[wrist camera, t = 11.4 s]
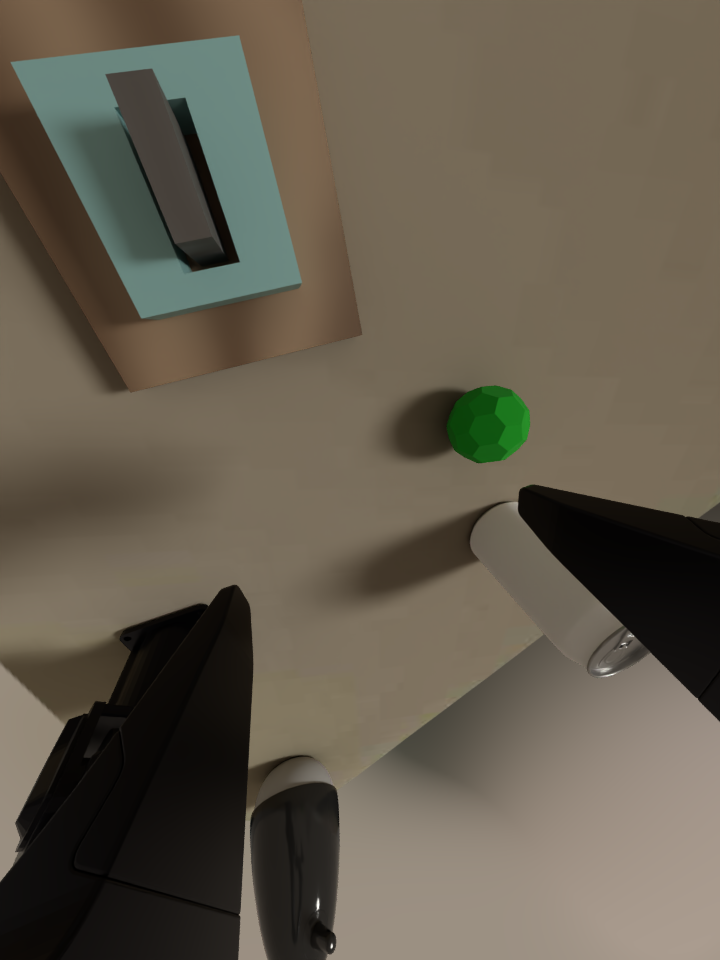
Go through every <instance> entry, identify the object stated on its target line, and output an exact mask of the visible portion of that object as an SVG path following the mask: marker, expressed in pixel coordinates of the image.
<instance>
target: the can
mask: <svg viewBox="0 0 720 960" xmlns="http://www.w3.org/2000/svg"><path fill="white" fill-rule="evenodd" d="M470 547H471V549H472V551H473V553H474V554H475V555H476V556H477V558H478V559H479V560H480V561H481V562H482V563H483V565H484V566H485V567H486V568H487V569H488V570H489V572H490V573H491V574H492V575H493V576H494V577H495V578H496V580H497V581H498V582H499V583H500V584H501V585H502V586H503V588H504V589H505V590H506V591H507V592H508V593H509V594H510V595H511V597H512V598H513V599H514V600H515V601H516V602H517V603H518V605H519V606H520V607H521V608H522V609H523V610H524V611H525V613H526V614H527V615H528V616H529V617H530V618H531V619H532V620H533V622H534V623H535V624H536V625H537V626H538V627H539V628H540V629H541V631H542V632H543V633H544V634H545V635H546V636H547V637H548V638H549V640H550V641H551V642H552V643H553V644H554V645H555V646H556V647H557V648H558V649H559V651H560V652H562V653H563V654H564V655H565V656H566V657H568V658H569V659H571V660H573V661H574V662H576V663H578V664H580V665H582V666H583V667H585V668H586V669H587V671H588V673H589V674H590V675H591V676H592V677H596V678H603V677H608V676H611V675H614V674H617V673H619V672H621V671H623V670H625V669H627V668H629V667H631V666H632V665H634V664H635V663H637V662H639V661H640V660H641V659H643V658H644V657H645V656H647V655H648V654H649V653H650V651H649V650H648V649H647V648H646V647H645V646H644V645H643V644H642V643H641V642H640V641H639V640H638V639H637V638H636V637H635V636H634V635H633V634H632V633H631V632H630V631H629V630H628V629H627V628H626V627H625V626H624V625H622V624H621V623H620V622H619V621H618V620H617V619H616V618H615V617H614V616H613V615H612V614H611V613H610V612H609V611H608V610H607V609H606V608H605V607H604V606H603V605H602V604H601V603H600V602H599V601H598V600H597V599H596V598H595V597H594V596H593V595H592V594H591V593H590V592H589V591H588V590H587V589H586V588H585V587H584V586H583V585H582V584H581V583H580V582H579V581H578V580H577V579H576V578H575V577H574V576H573V575H572V574H571V573H570V572H569V571H568V570H567V569H566V568H565V567H564V566H563V565H562V564H561V563H560V562H559V561H558V560H557V559H556V558H555V557H554V556H553V555H552V554H551V552H550V551H549V550H548V549H547V548H546V547H545V545H544V544H543V543H542V542H541V541H540V539H539V538H538V537H537V536H536V535H535V533H534V532H533V531H532V530H531V529H530V527H529V526H528V525H527V524H526V522H525V521H524V520H523V519H522V518H521V516H520V515H519V512H518V502H508V503H502V504H499V505H496V506H494V507H492V508H491V509H489V510H488V511H486V512H485V513H484V514H483V515H482V516H481V517H480V518H479V519H478V520H477V522H476V523H475V525H474V527H473V529H472V532H471V537H470Z"/></svg>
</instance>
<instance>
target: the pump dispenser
mask: <svg viewBox="0 0 720 960" xmlns="http://www.w3.org/2000/svg"><path fill="white" fill-rule="evenodd" d="M339 835H340V833H339V804H338V795H337V790H336V788H335V787H334V786H333V783H332V780H331V777H330V775H329V773H328V771H327V769H326V768H325V766H324V765H323V764H322V763H321V762H319V761H318V760H316V759H314V758H310V757H296V758H292V759H289V760H287V761H285V762H283V763H281V764H280V765H278V766H277V767H276V768H275V769H273V770H272V771H271V772H270V774H269V775H268V776H267V777H266V779H265V780H264V782H263V784H262V786H261V788H260V790H259V793H258V796H257V799H256V803H255V808H254V811H253V813H252V815H251V821H250V847H251V864H252V876H253V885H254V893H255V900H256V907H257V914H258V920H259V926H260V931H261V936H262V940H263V945H264V949H265V952H266V956H267V959H268V960H326V958H327V954H332V953H333V952H334V950H335V947H336V936H335V934H334V933H333V932H332V931H333V925H334V918H335V910H336V901H337V888H338V872H339V847H340V844H339V842H340V839H339V838H340V836H339Z"/></svg>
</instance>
